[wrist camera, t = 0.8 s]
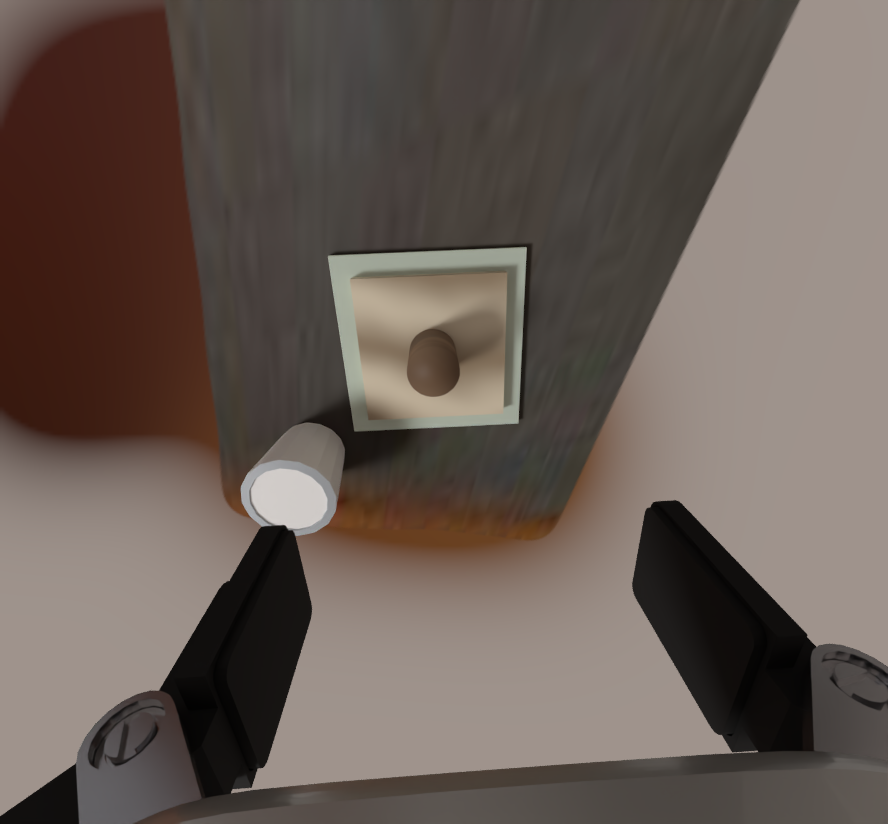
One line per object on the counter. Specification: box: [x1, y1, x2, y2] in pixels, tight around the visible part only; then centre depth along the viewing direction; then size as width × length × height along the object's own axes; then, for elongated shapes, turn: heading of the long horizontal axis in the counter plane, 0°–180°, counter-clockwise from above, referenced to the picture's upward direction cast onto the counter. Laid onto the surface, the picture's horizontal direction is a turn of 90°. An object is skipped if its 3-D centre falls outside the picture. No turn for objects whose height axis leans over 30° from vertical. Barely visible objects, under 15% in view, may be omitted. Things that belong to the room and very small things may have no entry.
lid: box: [350, 271, 507, 420], centre depth 29 cm, size 11×11×6 cm
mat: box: [328, 247, 527, 432], centre depth 32 cm, size 14×14×1 cm
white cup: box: [241, 423, 345, 536], centre depth 33 cm, size 7×7×7 cm
